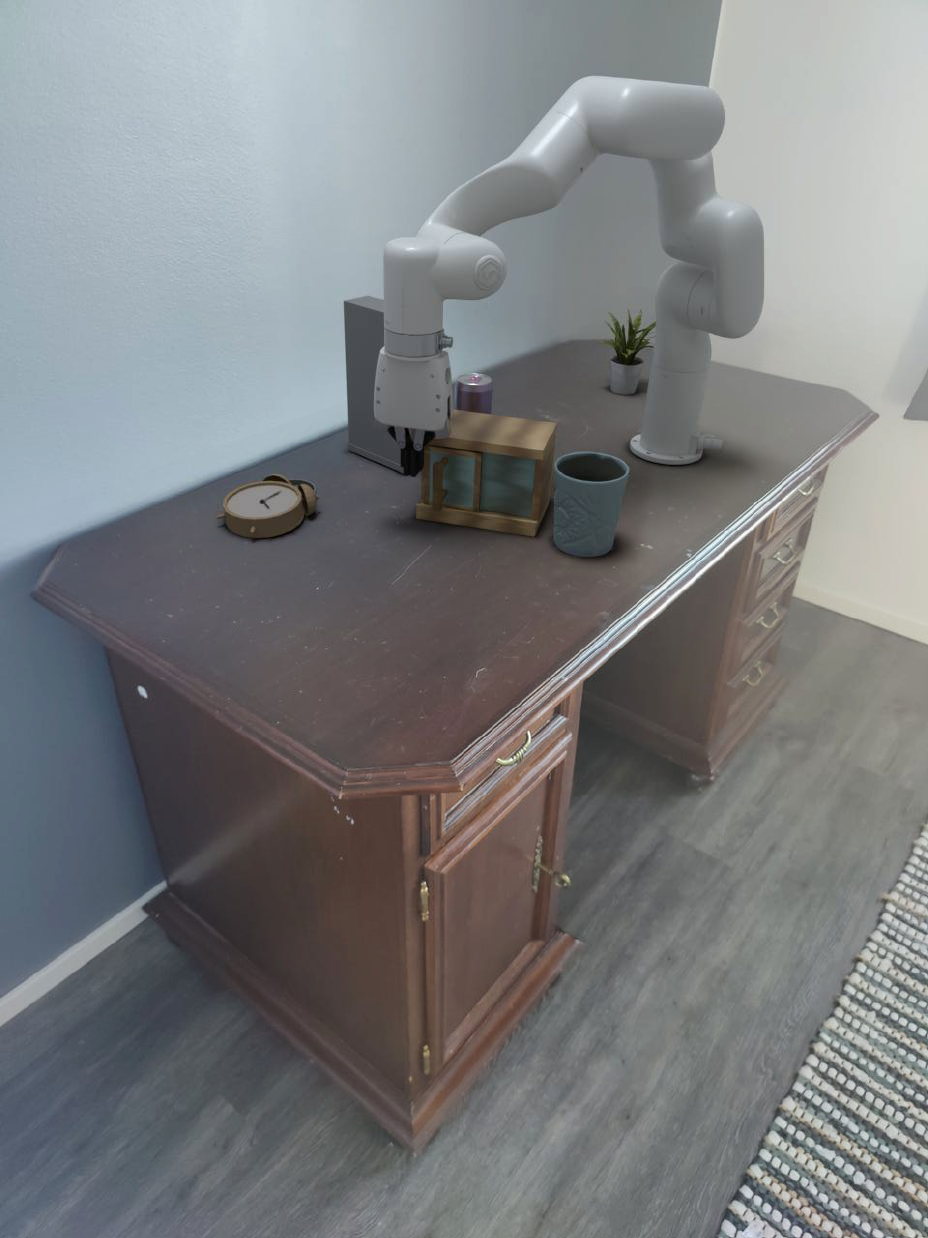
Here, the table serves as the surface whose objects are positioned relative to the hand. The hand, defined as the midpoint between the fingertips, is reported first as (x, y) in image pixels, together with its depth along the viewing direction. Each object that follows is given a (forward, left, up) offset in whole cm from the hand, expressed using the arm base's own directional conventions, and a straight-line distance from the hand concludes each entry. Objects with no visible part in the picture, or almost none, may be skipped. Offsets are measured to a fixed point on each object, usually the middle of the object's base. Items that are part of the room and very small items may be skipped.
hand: (412, 472), depth 126 cm
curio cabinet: (-9, -9, -9) cm, 15 cm away
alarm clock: (+20, +3, -9) cm, 22 cm away
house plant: (-24, -71, -9) cm, 75 cm away
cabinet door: (-5, -2, -7) cm, 9 cm away
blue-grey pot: (-25, -3, -9) cm, 26 cm away
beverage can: (-3, -24, -9) cm, 26 cm away
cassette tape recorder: (+11, -23, -9) cm, 27 cm away
